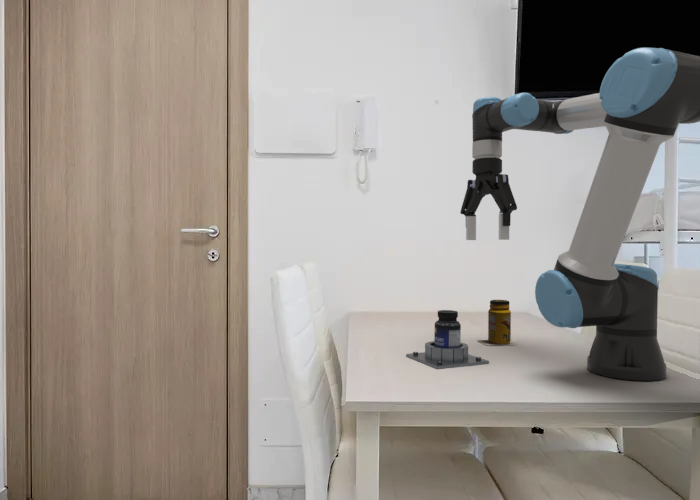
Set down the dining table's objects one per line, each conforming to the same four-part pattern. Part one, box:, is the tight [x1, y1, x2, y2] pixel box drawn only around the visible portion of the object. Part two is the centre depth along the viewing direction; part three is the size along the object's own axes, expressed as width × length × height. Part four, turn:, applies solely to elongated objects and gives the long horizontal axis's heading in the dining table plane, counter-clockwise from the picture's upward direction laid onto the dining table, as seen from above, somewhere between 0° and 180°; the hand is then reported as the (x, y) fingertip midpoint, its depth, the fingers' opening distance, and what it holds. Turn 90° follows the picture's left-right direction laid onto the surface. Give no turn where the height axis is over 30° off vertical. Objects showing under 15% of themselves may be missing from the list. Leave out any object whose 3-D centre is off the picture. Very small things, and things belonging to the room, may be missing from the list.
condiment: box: [477, 299, 517, 346], centre depth 146 cm, size 7×8×12 cm
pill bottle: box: [433, 309, 462, 348], centre depth 123 cm, size 6×6×11 cm
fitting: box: [405, 340, 490, 370], centre depth 124 cm, size 14×14×4 cm
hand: (486, 240), depth 137 cm, fingers open, 13 cm apart
